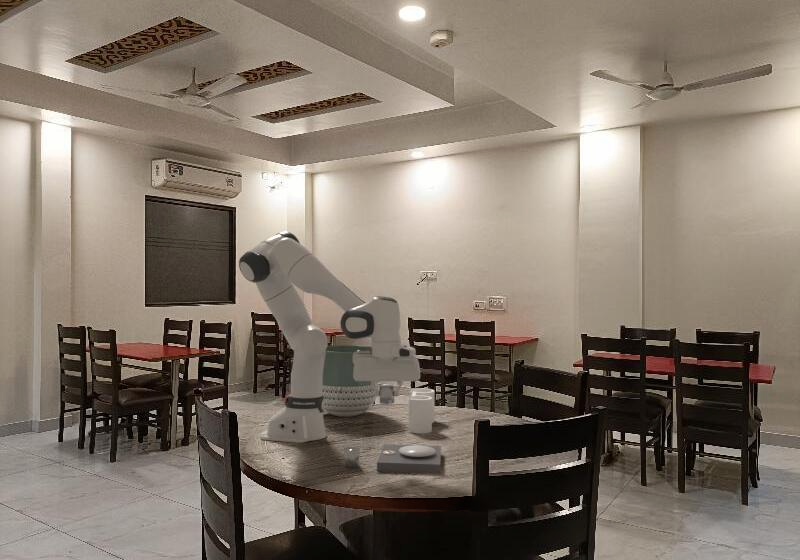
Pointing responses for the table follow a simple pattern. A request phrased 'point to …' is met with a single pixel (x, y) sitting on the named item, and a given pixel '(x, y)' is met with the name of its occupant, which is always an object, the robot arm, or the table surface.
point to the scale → (410, 459)
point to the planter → (345, 383)
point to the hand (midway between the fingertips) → (387, 395)
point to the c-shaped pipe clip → (421, 410)
